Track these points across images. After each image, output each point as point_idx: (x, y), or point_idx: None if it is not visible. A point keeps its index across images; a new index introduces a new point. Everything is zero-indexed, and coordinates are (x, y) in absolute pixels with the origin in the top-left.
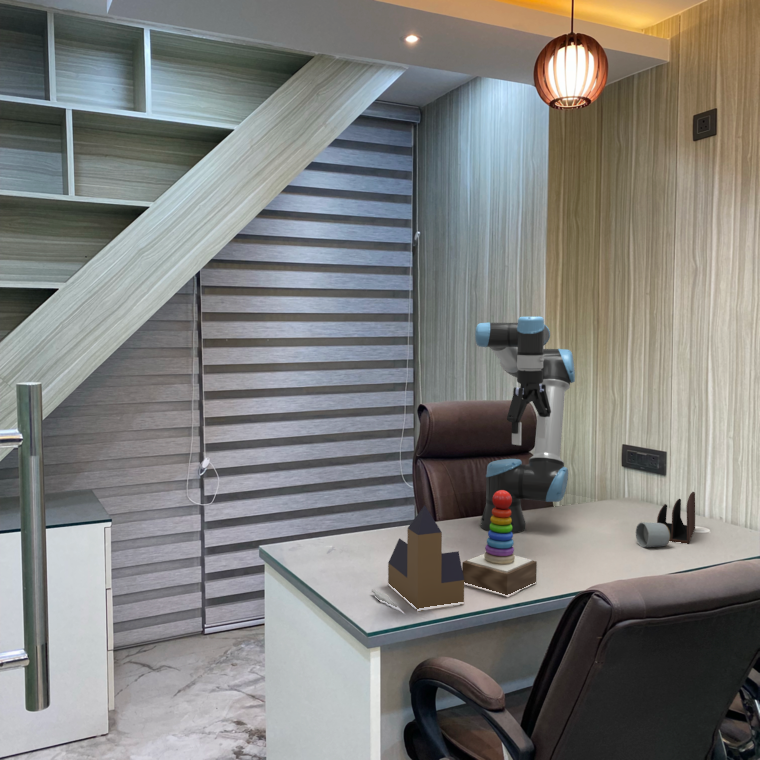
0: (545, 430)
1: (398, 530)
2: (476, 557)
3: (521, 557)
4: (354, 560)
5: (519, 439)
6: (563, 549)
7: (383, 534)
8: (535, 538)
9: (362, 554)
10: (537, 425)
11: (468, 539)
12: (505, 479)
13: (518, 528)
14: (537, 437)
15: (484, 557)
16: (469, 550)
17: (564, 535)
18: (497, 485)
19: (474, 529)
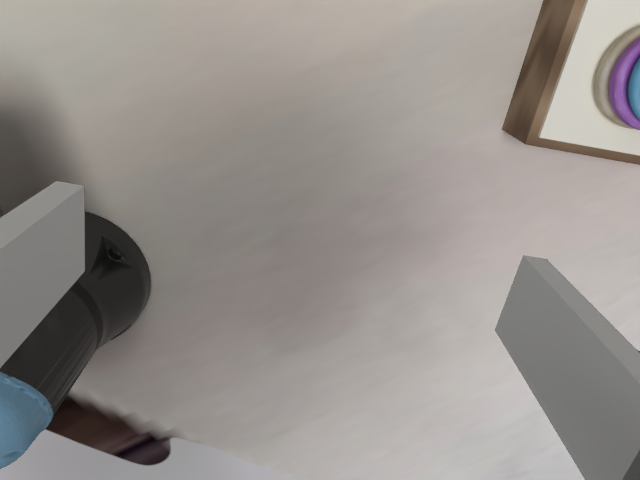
0: (27, 215)
1: (297, 461)
2: (638, 150)
3: (583, 20)
4: None
5: (571, 290)
6: (164, 17)
7: (349, 470)
8: (114, 147)
9: (517, 435)
10: (19, 341)
11: (259, 302)
12: (37, 354)
13: (91, 220)
14: (81, 267)
15: (629, 129)
16: (353, 259)
17: (8, 75)
18: (66, 363)
19: (158, 328)
